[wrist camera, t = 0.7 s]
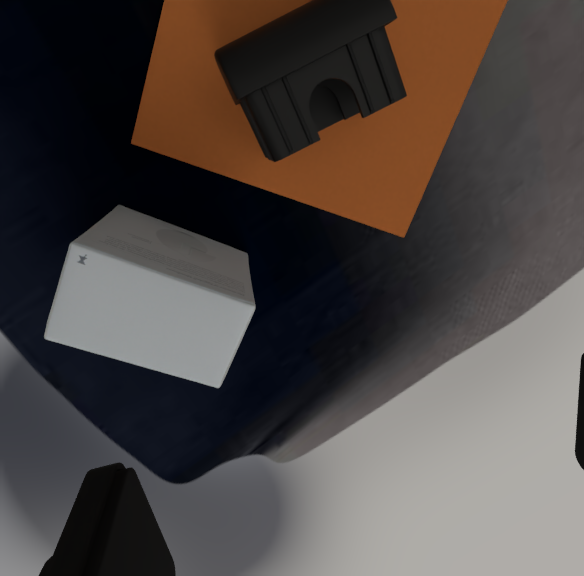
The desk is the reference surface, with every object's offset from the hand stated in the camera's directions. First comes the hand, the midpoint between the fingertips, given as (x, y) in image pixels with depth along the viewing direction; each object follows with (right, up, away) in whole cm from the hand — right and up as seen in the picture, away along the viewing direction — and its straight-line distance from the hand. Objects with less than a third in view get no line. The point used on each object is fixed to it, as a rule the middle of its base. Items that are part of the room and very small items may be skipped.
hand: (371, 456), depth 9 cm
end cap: (-1, +18, +22) cm, 28 cm away
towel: (+1, +20, +22) cm, 29 cm away
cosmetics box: (-11, +5, +25) cm, 28 cm away
